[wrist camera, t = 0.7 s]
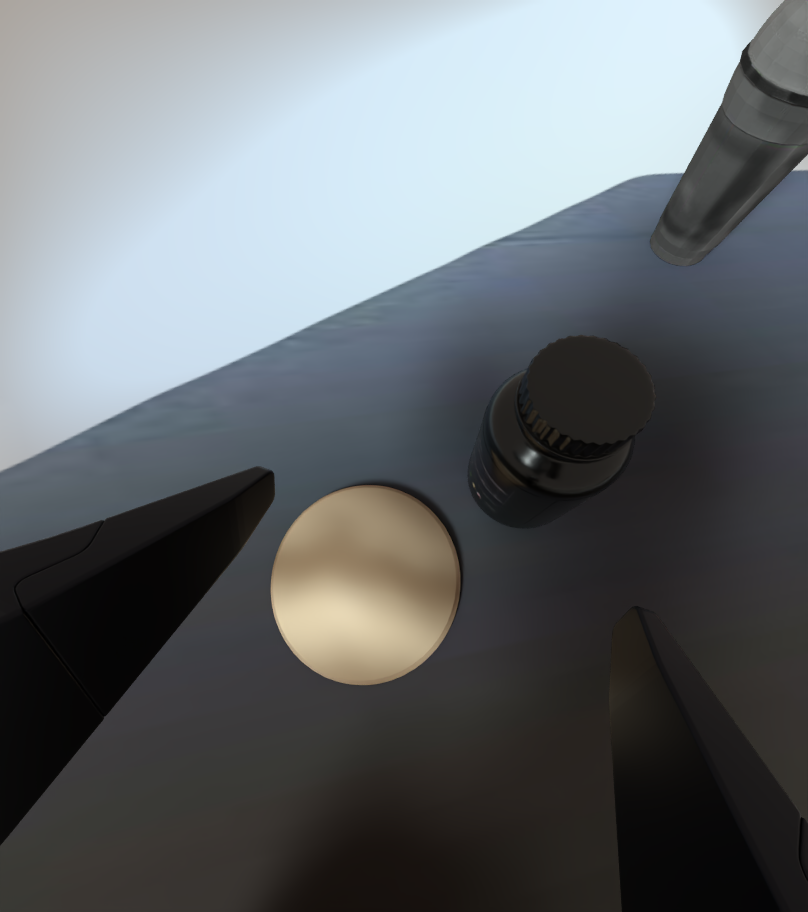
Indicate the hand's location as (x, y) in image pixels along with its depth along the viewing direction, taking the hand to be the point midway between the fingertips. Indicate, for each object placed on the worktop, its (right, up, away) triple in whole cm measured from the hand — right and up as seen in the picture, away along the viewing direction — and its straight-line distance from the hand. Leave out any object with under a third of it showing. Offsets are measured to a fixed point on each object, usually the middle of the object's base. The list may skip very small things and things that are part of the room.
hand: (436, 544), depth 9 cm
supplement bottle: (+7, +1, +16) cm, 18 cm away
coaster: (-3, -5, +14) cm, 16 cm away
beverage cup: (+22, +20, +23) cm, 38 cm away
